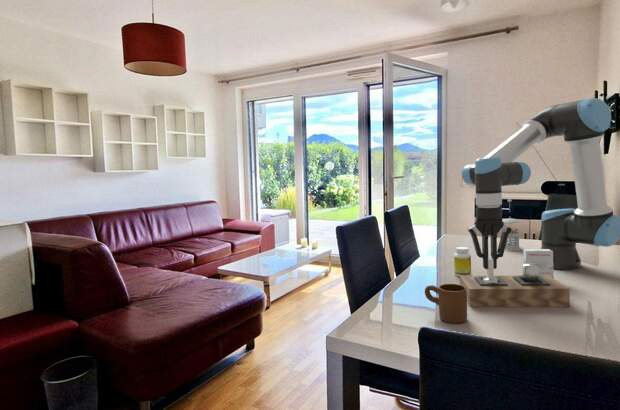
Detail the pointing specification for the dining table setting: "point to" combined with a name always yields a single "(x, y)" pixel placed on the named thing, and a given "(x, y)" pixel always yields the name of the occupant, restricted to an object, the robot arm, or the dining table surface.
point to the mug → (450, 302)
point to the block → (516, 292)
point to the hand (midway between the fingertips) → (490, 278)
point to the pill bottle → (462, 262)
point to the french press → (512, 245)
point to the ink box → (540, 260)
